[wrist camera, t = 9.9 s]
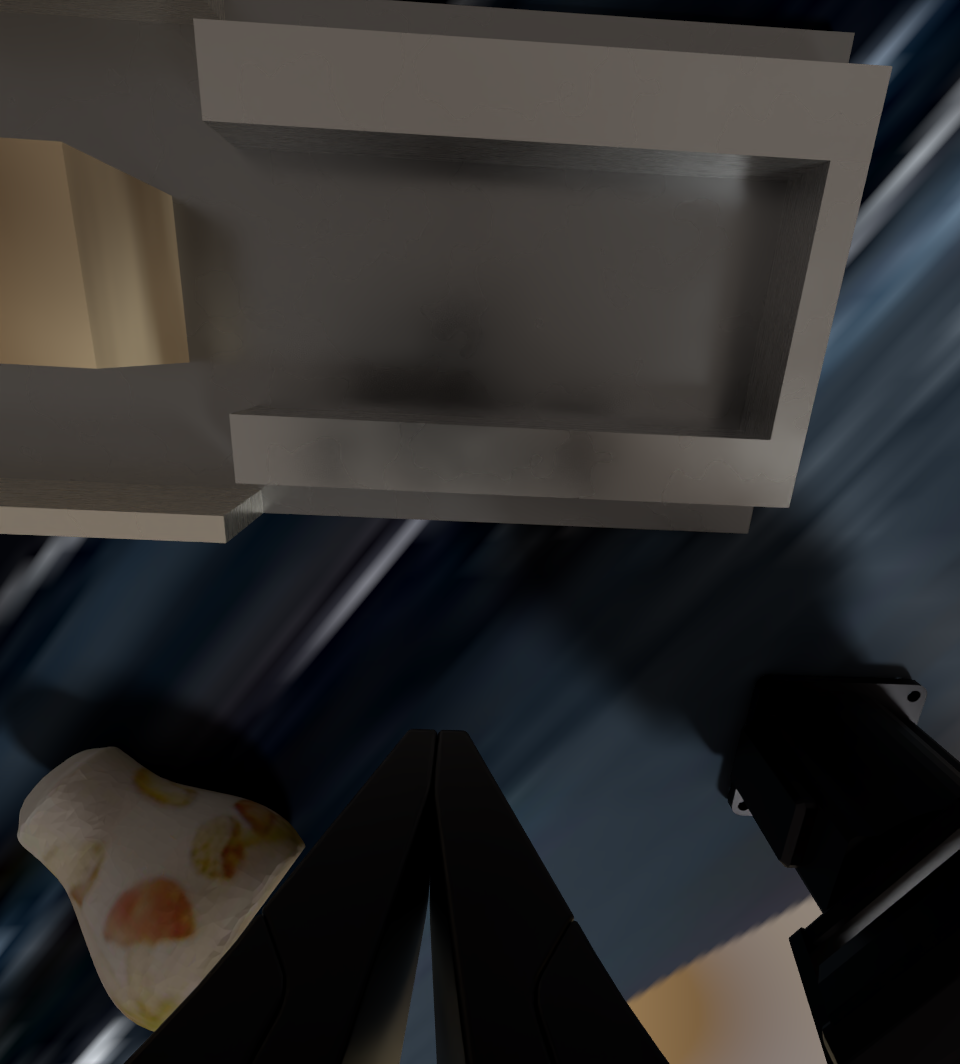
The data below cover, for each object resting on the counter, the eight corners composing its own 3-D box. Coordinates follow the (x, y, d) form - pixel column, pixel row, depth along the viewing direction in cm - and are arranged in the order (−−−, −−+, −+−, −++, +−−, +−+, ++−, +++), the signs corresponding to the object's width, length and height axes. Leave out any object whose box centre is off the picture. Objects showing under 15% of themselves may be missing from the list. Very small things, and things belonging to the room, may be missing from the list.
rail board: (840, 44, 15) (945, -41, 12) (739, 528, 20) (795, 566, 16) (-295, -35, 15) (-532, -152, 11) (-134, 490, 19) (-267, 522, 16)
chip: (172, 196, 16) (61, 141, 12) (189, 362, 17) (97, 369, 13) (8, 185, 16) (-165, 126, 11) (39, 354, 17) (-104, 357, 13)
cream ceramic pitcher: (89, 673, 22) (76, 901, 14) (298, 732, 28) (369, 913, 20) (-24, 828, 22) (-101, 1143, 14) (209, 853, 28) (246, 1081, 20)
